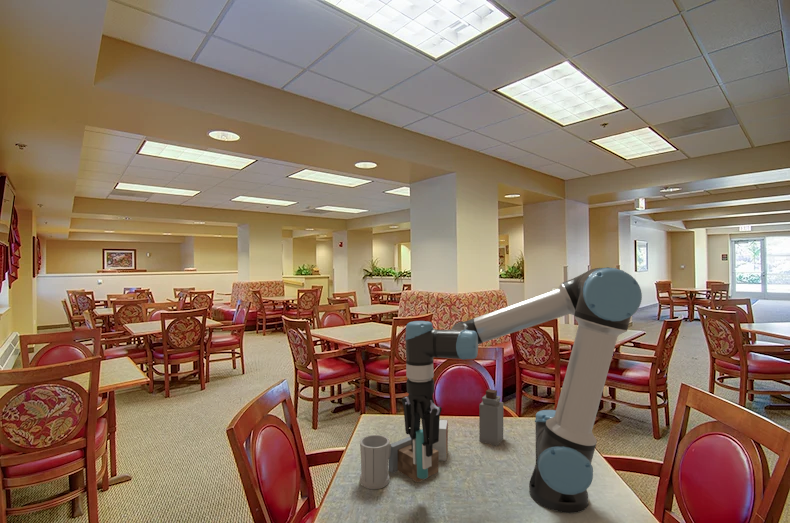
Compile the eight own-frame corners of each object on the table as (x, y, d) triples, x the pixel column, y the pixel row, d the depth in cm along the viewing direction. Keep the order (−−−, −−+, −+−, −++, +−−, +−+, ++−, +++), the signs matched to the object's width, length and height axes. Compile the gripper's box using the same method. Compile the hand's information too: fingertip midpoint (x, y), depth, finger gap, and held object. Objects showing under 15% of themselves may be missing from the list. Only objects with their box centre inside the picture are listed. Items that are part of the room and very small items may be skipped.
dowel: (430, 476, 107) (429, 431, 107) (422, 480, 105) (421, 434, 105) (422, 471, 109) (421, 428, 109) (414, 475, 107) (413, 431, 107)
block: (438, 472, 121) (438, 450, 122) (417, 482, 116) (417, 460, 116) (418, 461, 128) (418, 441, 128) (397, 470, 122) (397, 449, 122)
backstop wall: (422, 459, 130) (422, 435, 130) (392, 473, 121) (392, 447, 121) (418, 457, 131) (418, 433, 131) (388, 470, 122) (388, 444, 123)
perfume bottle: (503, 438, 145) (503, 390, 145) (497, 445, 139) (497, 395, 140) (485, 434, 149) (485, 387, 149) (479, 441, 143) (479, 391, 143)
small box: (446, 461, 128) (446, 429, 128) (429, 459, 129) (429, 427, 129) (448, 450, 136) (448, 419, 136) (432, 448, 137) (432, 418, 137)
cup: (362, 470, 122) (362, 432, 123) (391, 471, 122) (391, 432, 122) (357, 489, 112) (357, 447, 112) (389, 490, 112) (389, 448, 112)
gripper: (451, 381, 104) (453, 470, 103) (410, 370, 116) (411, 450, 115) (432, 387, 99) (434, 481, 98) (390, 375, 111) (392, 459, 110)
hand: (422, 464), depth 107 cm, fingers closed on dowel, 3 cm apart
